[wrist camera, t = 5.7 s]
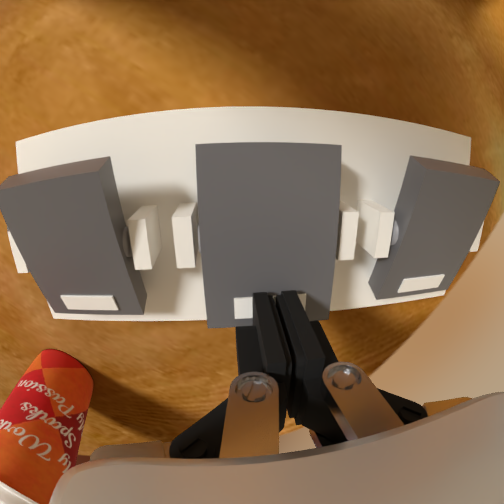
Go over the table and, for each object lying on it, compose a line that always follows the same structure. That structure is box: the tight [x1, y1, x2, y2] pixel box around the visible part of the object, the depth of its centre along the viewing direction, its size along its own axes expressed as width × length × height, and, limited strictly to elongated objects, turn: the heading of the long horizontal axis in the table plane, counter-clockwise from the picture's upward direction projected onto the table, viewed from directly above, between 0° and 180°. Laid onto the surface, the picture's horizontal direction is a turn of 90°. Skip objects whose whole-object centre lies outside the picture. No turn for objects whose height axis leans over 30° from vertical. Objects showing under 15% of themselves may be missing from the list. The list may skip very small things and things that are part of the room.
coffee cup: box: [0, 349, 94, 504], centre depth 14 cm, size 8×8×15 cm
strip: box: [7, 107, 484, 321], centre depth 14 cm, size 10×27×6 cm, turn 91°
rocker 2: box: [368, 155, 500, 300], centre depth 12 cm, size 7×5×2 cm
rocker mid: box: [195, 142, 342, 328], centre depth 11 cm, size 7×5×2 cm
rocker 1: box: [0, 156, 147, 315], centre depth 10 cm, size 7×5×2 cm
